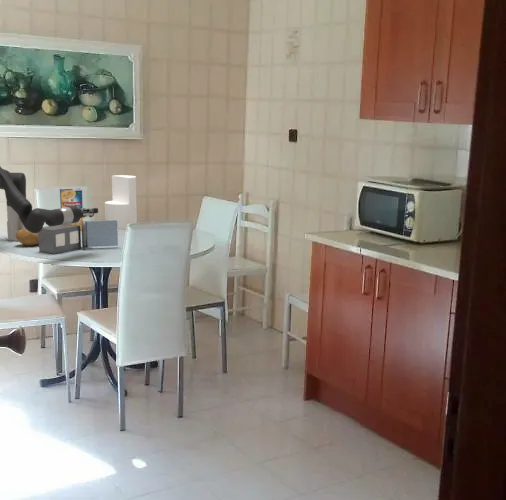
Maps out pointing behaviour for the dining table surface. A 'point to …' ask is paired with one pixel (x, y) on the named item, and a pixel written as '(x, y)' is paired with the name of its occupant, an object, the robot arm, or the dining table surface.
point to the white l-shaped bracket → (122, 201)
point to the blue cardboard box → (71, 200)
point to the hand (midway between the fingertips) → (97, 210)
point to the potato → (27, 237)
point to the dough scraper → (99, 233)
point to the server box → (60, 239)
